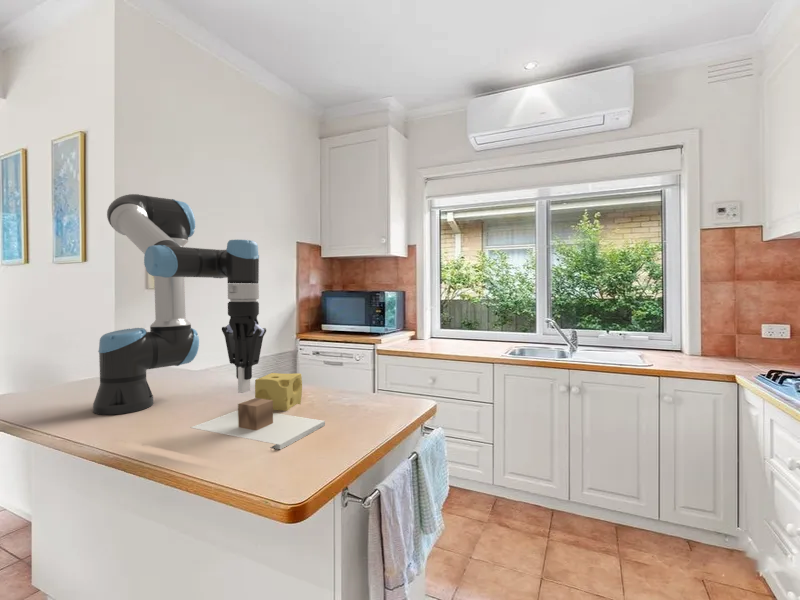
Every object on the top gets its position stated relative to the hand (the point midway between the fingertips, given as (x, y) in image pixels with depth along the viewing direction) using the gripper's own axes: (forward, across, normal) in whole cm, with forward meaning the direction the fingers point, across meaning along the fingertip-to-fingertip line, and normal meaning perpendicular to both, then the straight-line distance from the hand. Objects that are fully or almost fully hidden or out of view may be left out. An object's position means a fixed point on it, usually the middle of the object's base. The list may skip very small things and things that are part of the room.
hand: (244, 391), depth 108 cm
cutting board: (+10, +4, +1) cm, 10 cm away
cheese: (+10, -3, +17) cm, 20 cm away
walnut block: (+5, +1, 0) cm, 5 cm away
